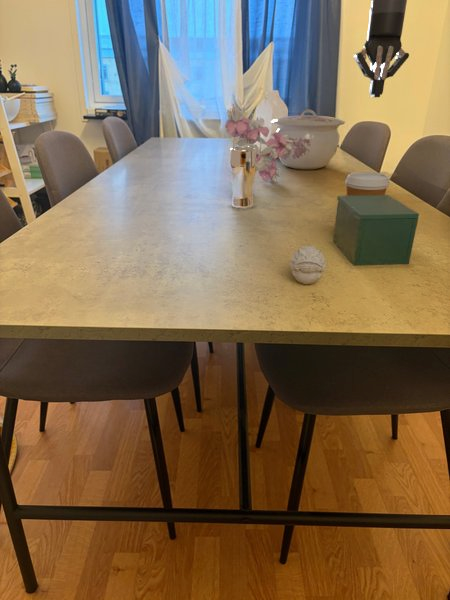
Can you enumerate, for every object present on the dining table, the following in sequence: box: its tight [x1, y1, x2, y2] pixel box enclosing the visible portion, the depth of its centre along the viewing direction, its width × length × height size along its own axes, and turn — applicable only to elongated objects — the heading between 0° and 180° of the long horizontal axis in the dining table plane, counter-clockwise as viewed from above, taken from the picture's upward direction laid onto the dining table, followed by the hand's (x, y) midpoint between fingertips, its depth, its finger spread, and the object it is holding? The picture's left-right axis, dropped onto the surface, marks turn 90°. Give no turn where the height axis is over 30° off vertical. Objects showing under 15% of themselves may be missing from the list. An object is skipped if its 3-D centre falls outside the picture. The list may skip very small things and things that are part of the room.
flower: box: [224, 103, 292, 182], centre depth 138 cm, size 20×22×25 cm
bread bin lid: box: [336, 194, 420, 219], centre depth 83 cm, size 14×11×1 cm
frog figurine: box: [288, 245, 327, 285], centre depth 72 cm, size 6×7×7 cm
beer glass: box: [229, 146, 257, 209], centre depth 115 cm, size 7×7×15 cm
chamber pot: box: [271, 108, 346, 171], centre depth 165 cm, size 28×28×21 cm
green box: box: [332, 200, 419, 266], centre depth 85 cm, size 14×11×9 cm
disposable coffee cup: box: [344, 171, 391, 196], centre depth 98 cm, size 10×10×12 cm
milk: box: [254, 89, 289, 152], centre depth 202 cm, size 12×12×26 cm
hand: (375, 97), depth 105 cm, fingers closed
